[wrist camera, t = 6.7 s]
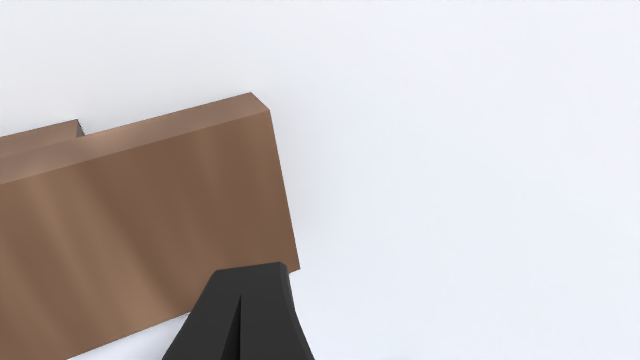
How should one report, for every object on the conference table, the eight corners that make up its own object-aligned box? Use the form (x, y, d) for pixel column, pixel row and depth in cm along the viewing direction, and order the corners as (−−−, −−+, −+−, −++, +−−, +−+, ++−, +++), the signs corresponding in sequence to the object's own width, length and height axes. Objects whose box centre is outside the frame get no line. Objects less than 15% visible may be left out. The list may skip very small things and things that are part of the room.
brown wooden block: (269, 109, 11) (-125, 219, 9) (300, 269, 14) (-2, 386, 11) (251, 92, 13) (-98, 183, 10) (282, 240, 15) (7, 340, 13)
